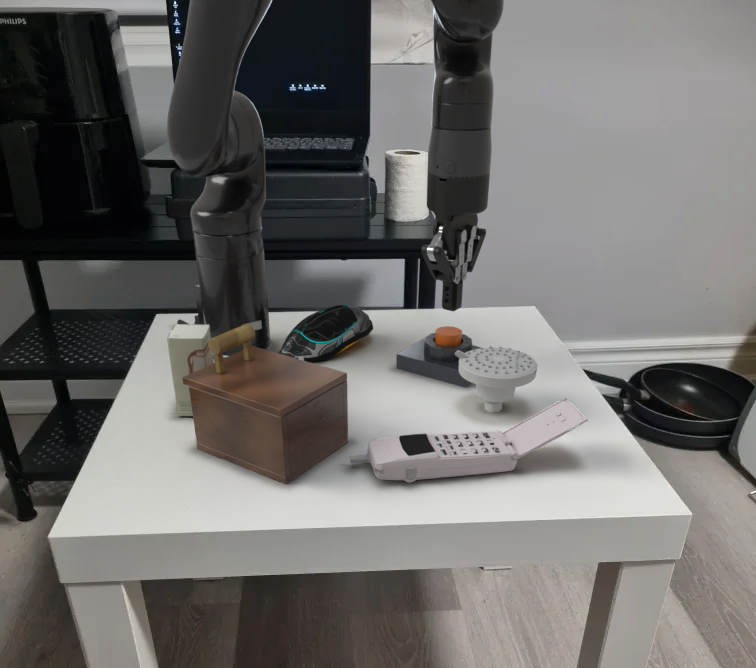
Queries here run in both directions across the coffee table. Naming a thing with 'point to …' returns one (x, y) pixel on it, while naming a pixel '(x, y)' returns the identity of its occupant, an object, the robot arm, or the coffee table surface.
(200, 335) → the off-white upright block
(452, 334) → the button
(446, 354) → the control block
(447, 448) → the mobile phone
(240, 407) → the chest
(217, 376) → the lid
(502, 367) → the showerhead
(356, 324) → the computer mouse
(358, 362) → the coffee table surface
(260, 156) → the robot arm
